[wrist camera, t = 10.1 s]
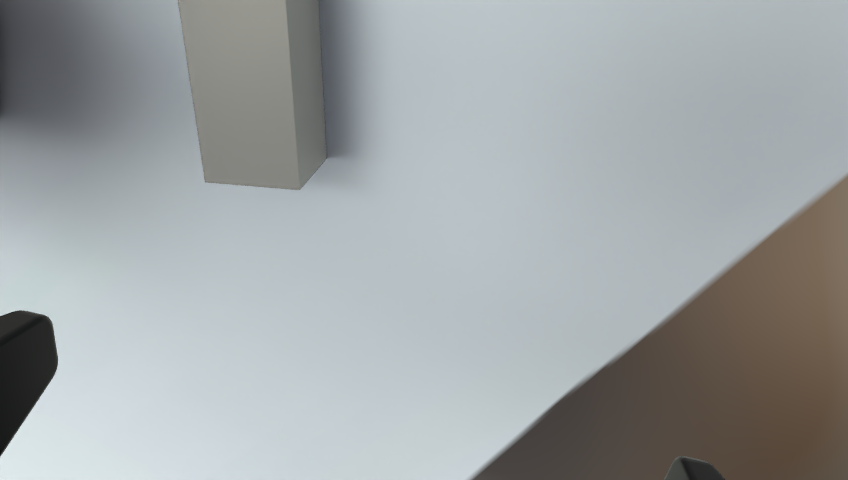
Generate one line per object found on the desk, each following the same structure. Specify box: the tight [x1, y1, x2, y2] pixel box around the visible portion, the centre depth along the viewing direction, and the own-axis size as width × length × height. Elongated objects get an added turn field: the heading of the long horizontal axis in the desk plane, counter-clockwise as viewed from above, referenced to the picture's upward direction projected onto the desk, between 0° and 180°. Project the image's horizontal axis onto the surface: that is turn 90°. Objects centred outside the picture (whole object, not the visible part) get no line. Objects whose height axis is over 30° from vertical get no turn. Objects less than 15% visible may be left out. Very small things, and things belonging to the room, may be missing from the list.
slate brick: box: [178, 0, 327, 190], centre depth 19 cm, size 6×3×3 cm, turn 178°
